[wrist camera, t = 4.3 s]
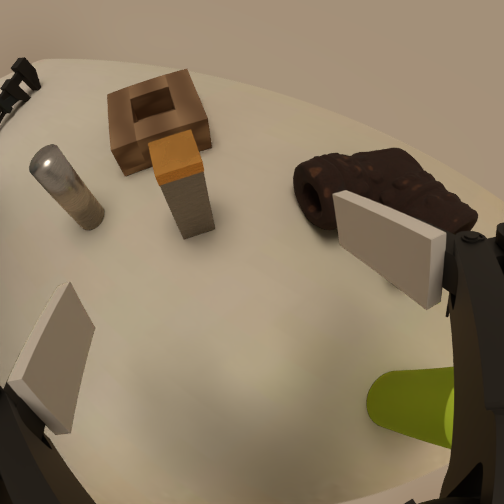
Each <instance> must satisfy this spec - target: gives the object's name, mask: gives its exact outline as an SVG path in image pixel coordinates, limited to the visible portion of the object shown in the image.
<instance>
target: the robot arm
mask: <svg viewBox="0 0 504 504" xmlns="http://www.w3.org/2000/svg"><path fill="white" fill-rule="evenodd" d="M332 195H333V201H334V208H335V214H336V221H337V228H338V236H339V244H340V246H342V247H343V248H344V249H346V250H347V251H349V252H350V253H351V254H353V255H354V256H355V257H357V258H358V259H360V260H361V261H362V262H364V263H365V264H366V265H368V266H369V267H371V268H372V269H373V270H375V271H376V272H377V273H379V274H380V275H381V276H383V277H384V278H385V279H387V280H388V281H389V282H391V283H392V284H393V285H395V286H396V287H397V288H399V289H400V290H401V291H403V292H404V293H405V294H406V295H408V296H409V297H410V298H412V299H413V300H414V301H416V302H417V303H418V304H419V305H421V306H422V307H423V308H424V309H426V310H427V309H429V308H431V307H433V306H434V305H436V304H438V303H439V302H441V295H442V287H443V288H444V289H446V290H447V291H449V298H448V305H447V311H446V317H448V316H449V313H450V321H451V332H452V345H453V363H454V415H453V433H452V446H451V456H450V463H449V467H448V470H447V473H446V476H445V478H444V482H443V485H442V488H441V493H440V497H439V499H433V500H430V501H426V502H422V503H419V504H504V223H500V224H498V225H497V230H496V237H493V238H488V239H487V238H486V237H485V236H484V235H482V234H481V233H478V232H474V231H461V232H459V233H457V234H456V235H455V234H452V233H450V232H448V231H446V230H444V229H442V228H440V227H437V226H434V225H433V224H431V223H427V222H426V221H424V220H422V219H420V218H416V217H411V216H408V215H406V214H404V213H401V212H399V211H397V210H394V209H392V208H390V207H387V206H385V205H382V204H380V203H377V202H375V201H372V200H370V199H367V198H365V197H362V196H360V195H357V194H355V193H352V192H349V191H347V190H344V191H341V192H338V193H334V194H332ZM94 331H95V326H94V325H93V323H92V321H91V319H90V318H89V316H88V314H87V312H86V311H85V309H84V307H83V305H82V303H81V301H80V300H79V298H78V296H77V294H76V292H75V290H74V288H73V286H72V284H71V282H67V283H64V284H62V285H59V286H57V288H56V290H55V291H54V293H53V295H52V296H51V298H50V300H49V301H48V303H47V305H46V306H45V308H44V310H43V312H42V313H41V315H40V317H39V319H38V320H37V322H36V324H35V326H34V328H33V330H32V331H31V333H30V335H29V337H28V339H27V341H26V343H25V345H24V347H23V349H22V351H21V353H20V354H19V356H18V358H17V360H16V363H15V365H14V367H13V370H12V371H11V373H10V375H9V378H8V380H7V382H6V385H5V387H4V389H2V387H1V386H0V504H96V503H95V502H94V500H93V499H92V498H91V497H90V495H89V494H88V493H87V492H86V490H85V489H84V488H83V487H82V485H81V484H80V483H79V481H78V480H77V479H76V477H75V476H74V474H73V473H72V472H71V470H70V469H69V467H68V466H67V465H66V463H65V462H64V460H63V459H62V457H61V456H60V454H59V453H58V451H57V449H56V448H55V446H54V445H53V443H52V442H51V440H50V438H48V437H47V436H46V435H45V434H44V428H45V425H46V426H47V427H48V428H49V429H50V430H51V431H52V432H53V433H54V434H55V435H59V434H67V433H71V430H72V424H73V418H74V413H75V408H76V403H77V398H78V393H79V389H80V384H81V380H82V376H83V372H84V368H85V364H86V360H87V356H88V352H89V348H90V345H91V341H92V337H93V334H94ZM405 504H416V503H415V502H414V500H413V499H411V500H410V501H408V502H406V503H405Z"/></svg>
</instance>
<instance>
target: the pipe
mask: <svg viewBox="0 0 504 504" xmlns="http://www.w3.org/2000/svg"><path fill="white" fill-rule="evenodd" d="M293 184H294V190H295V194H296V197H297V200H298V202H299V204H300V206H301V208H302V210H303V212H304V214H305V215H306V217H307V218H308V220H309V221H311V222H312V223H313V224H315V225H316V226H318V227H320V228H322V229H326V230H333V229H336V228H337V221H336V214H335V208H334V201H333V195H332V194H334V193H338V192H341V191H344V190H347V191H349V192H352V193H355V194H357V195H360V196H362V197H365V198H367V199H370V200H372V201H375V202H377V203H380V204H382V205H385V206H387V207H390V208H392V209H394V210H397V211H399V212H401V213H404V214H406V215H408V216H411V217H416V218H420V219H422V220H424V221H426V222H427V223H431V224H433V225H434V226H437V227H440V228H442V229H444V230H446V231H448V232H450V233H452V234H455V235H456V234H457V233H459V232H461V231H471V229H472V228H473V226H474V225H475V223H476V222H477V219H478V213H477V212H476V211H475V210H473V209H471V208H470V207H469V205H468V204H465V203H463V202H461V200H460V198H459V197H458V196H457V195H456V194H454V193H451V192H448V191H447V190H446V189H445V187H444V185H443V184H442V183H441V182H439V181H436V180H435V178H434V177H433V176H432V175H431V174H429V173H427V172H426V171H424V170H423V168H422V167H421V166H420V164H419V163H418V162H417V161H416V160H415V159H414V158H413V157H412V156H411V155H410V154H408V153H407V152H406V151H404V150H402V149H400V148H389V149H383V150H376V151H370V152H359V153H355V154H353V155H352V156H347V155H343V154H339V153H330V154H328V155H325V154H324V155H322V156H316V157H314V158H313V159H310V160H308V161H305V162H302V163H300V164H299V165H298V166H297V167H296V168H295V171H294V176H293Z"/></svg>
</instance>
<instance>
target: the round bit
mask: <svg viewBox="0 0 504 504" xmlns="http://www.w3.org/2000/svg"><path fill="white" fill-rule="evenodd" d="M29 171H30V173H31V174H32V175H33V176H34V177H35V179H36V180H37V181H38V182H39V183H40V184H41V185H42V186H43V187H44V189H45V190H46V191H47V192H48V193H49V194H50V195H51V196H52V197H53V198H54V199H55V200H56V201H57V202H58V204H59V205H60V206H61V207H62V208H63V209H64V210H65V211H66V212H67V213H68V214H69V215H70V216H71V217H72V218H73V219H74V220H75V221H76V222H77V223H78V224H79V225H80V226H81V227H82V228H83V229H85V230H92V229H95V228H96V227H98V226H99V225H100V224H101V222H102V220H103V218H104V209H103V207H102V206H101V205H100V203H99V202H98V201H97V200H96V198H95V197H94V196H93V194H92V193H91V192H90V190H89V189H88V188H87V186H86V185H85V184H84V182H83V181H82V180H81V178H80V177H79V176H78V174H77V173H76V172H75V170H74V169H73V167H72V166H71V165H70V163H69V162H68V160H67V159H66V158H65V156H64V155H63V153H62V152H61V151H60V149H59V148H58V146H57V145H54V144H51V145H47V146H45V147H43V148H42V149H40V150H39V151H38V152H37V153H36V154H35V156H34V157H33V159H32V160H31V163H30V166H29Z"/></svg>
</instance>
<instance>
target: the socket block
mask: <svg viewBox="0 0 504 504" xmlns="http://www.w3.org/2000/svg"><path fill="white" fill-rule="evenodd" d="M107 100H108V119H109V134H110V146H111V152H112V153H113V155H114V157H115V159H116V161H117V163H118V164H119V166H120V168H121V170H122V172H123V174H124V175H125V176H127V175H130V174H132V173H135V172H138V171H141V170H144V169H146V168H149V167H152V166H153V165H152V160H151V156H150V151H149V146H148V143H149V142H152V141H155V140H158V139H161V138H164V137H168V136H171V135H174V134H177V133H180V132H184V131H187V130H190V129H191V131H192V134H193V136H194V139H195V142H196V145H197V148H198V151H202V150H205V149H209V148H212V145H211V138H210V131H209V124H208V118H207V115H206V113H205V111H204V108H203V106H202V103H201V101H200V99H199V96H198V94H197V91H196V89H195V87H194V84H193V82H192V80H191V77H190V75H189V72H188V70H187V69H184V70H180V71H177V72H173V73H170V74H166V75H163V76H159V77H156V78H153V79H150V80H147V81H144V82H141V83H138V84H135V85H132V86H129V87H126V88H123V89H121V90H118V91H115V92H113V93H110V94H107Z"/></svg>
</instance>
